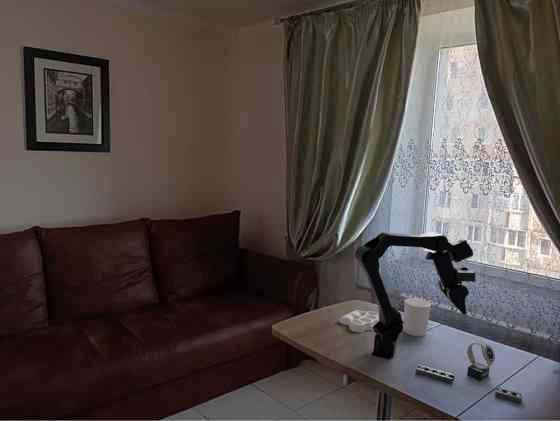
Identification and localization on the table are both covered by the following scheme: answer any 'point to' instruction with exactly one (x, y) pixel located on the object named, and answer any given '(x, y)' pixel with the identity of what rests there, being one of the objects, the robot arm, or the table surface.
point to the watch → (478, 369)
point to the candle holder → (416, 316)
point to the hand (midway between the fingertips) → (461, 310)
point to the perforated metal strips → (449, 378)
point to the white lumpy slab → (360, 320)
